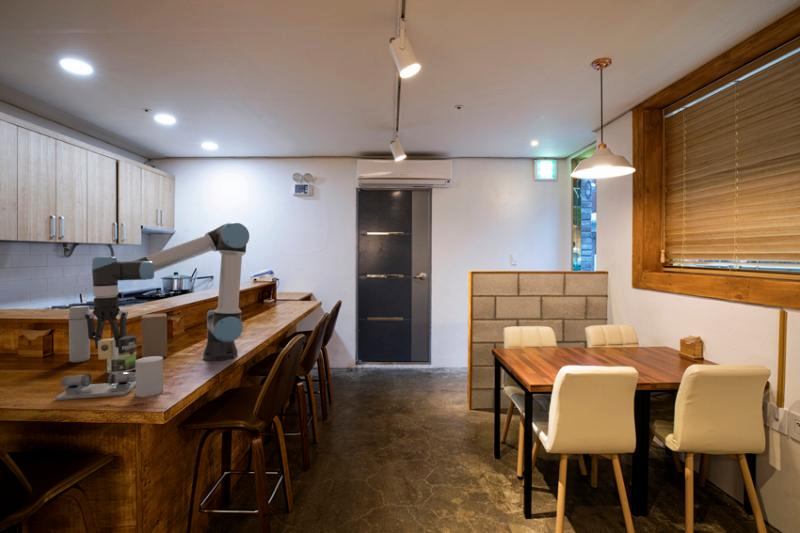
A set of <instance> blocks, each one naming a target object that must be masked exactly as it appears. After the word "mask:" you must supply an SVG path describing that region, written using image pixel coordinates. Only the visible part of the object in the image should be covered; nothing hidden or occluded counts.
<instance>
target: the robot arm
mask: <svg viewBox="0 0 800 533" xmlns="http://www.w3.org/2000/svg"><path fill="white" fill-rule="evenodd" d="M249 241H250V231H249V230H248V228H247V227H246V226H245V225H244V224H242V223H240V222H236V221H234V222H233V221H229V222H227V223H224V224H222V225H220V226H219V227H216V228H215V229H213V230H211V231H208V232H205V234H204V235H203V236H200V237H197V238H194V239H192V240H189V241H186V242H183V243H181V244H178V245H175V246H172V247H169V248H166V249H163V250H161V251H157V252H154V253H153V254H152V253H151V254H149V255H147V256H146V255H145V256H144V257H141V258H138V259H136V260H131V261H130V260H129V261H118V258H117V256H95V257H94V258H92V264H91V265H92V267H91V271H92V272H91V273H92V275H91V276H92V288H93V289H92V290H93V291H92V297H94V298H93V310H92V312H90V313H89V314H86V315H85V318H86V319H87V325H88V337H89V339H90V341H94V347H95V350H98V351H97V354H98V359H99V345H98V341H101V340H103V339H104V338H103V337H102V336H103V330H104V326H105V323H106V321H107V322H108V323H109V325H110V329H111V331H112V335H113V336H114V340H112V346H113V357H115V356H117V355H118V347H120V346H121V338H122V337H125V336H126V335H127V317H128V315H129V312H128V311H123V310H121V309H120V307H119V306H120V304H119V302H120V300H119V299H120V298H119V296H118V295H119V282H121V281H139V280H140V281H142V280H143V281H146V280H153V279H154V278H155V273H156V272H158V271H161V270H163V269H166V268H169V267H172V266H175V265H177V264H180V263H182V262H185V261H187V260H190V259H193V258H196V257H199V256H201V255H203V254H206V253H209V252H215V253H216V252H218V253H219V254H220V255H221V259H220V272H219V284H218V285H219V286H218V300H217V307H216V308H215V309H214V310H211V309H210V310H208V311H207V313H206V314H207V315H206V331H207V332H206V339H207V340H206V344H205V347H204V351H203V353H202V358H203V360H205V361H224V360H223V359H225V360H229V359H228V358H230V359H233V358H235V357H234V356H236V355H237V354H239V353H238V347H237V346H236V342H235V340H237V339H239V337H241V335H242V333H243V331H244V325H243V322H242V310H241V309H240V308H239V302H240V288H241V287H240V286H241V276H242V263H243V262H242V260H243V256H244V255H245V254H246V253H247V245H248V242H249ZM118 315H119V324H118V319H117V317H118ZM95 317H96V318H97V320H96V326H95ZM118 325H119V326H118ZM237 356H238V355H237ZM237 356H236V357H237ZM232 357H233V358H232Z"/></svg>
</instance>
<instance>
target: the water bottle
mask: <svg viewBox="0 0 800 533" xmlns="http://www.w3.org/2000/svg"><path fill="white" fill-rule="evenodd" d="M89 313H91V311H90V306H89V305H77V306H70V307H69V313H68V317H67V319H68V343H69V344H68V354H69V355H68V358H69V360H68V361H69V362H70V363H73V364H74V363H83V362H87V361H89V359H90V358H91V350H90V349H91V347H90V346H91V345H90V344H91V340H90V339H89V337H88V325H87V319H86V318H85V315H86V314H89Z"/></svg>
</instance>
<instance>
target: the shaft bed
mask: <svg viewBox="0 0 800 533" xmlns="http://www.w3.org/2000/svg"><path fill="white" fill-rule="evenodd" d="M91 382H92V375H91V373H85V374H82V375H81V374H80V375H67V376H66V375H65V376H63V377H62V378H61V381H60V385H61V387H62V388H65V391H63V392H62V393H60V394H58V395H56V396H55V401H63V400H74V399H75V400H76V399H91V398H101V397H103V398H104V397H115V396H126V395H127V394H128V393H129V392H130V391H132V390H133V389H134V388H136V371H135V372H134V371H129V372H124V373H115V372H111V373H108V377H107V383H104V382H103V383H93V384H91Z"/></svg>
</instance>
